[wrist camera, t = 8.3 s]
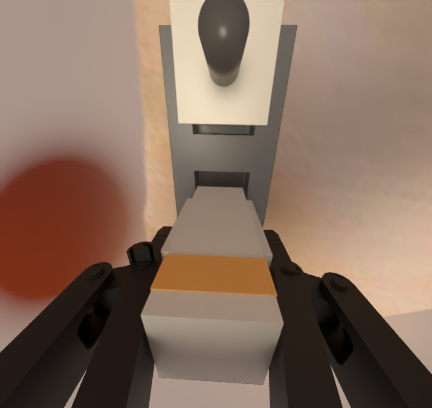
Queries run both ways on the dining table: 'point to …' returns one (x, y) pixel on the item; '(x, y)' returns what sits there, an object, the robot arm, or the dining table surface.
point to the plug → (214, 296)
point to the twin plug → (225, 59)
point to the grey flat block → (226, 137)
